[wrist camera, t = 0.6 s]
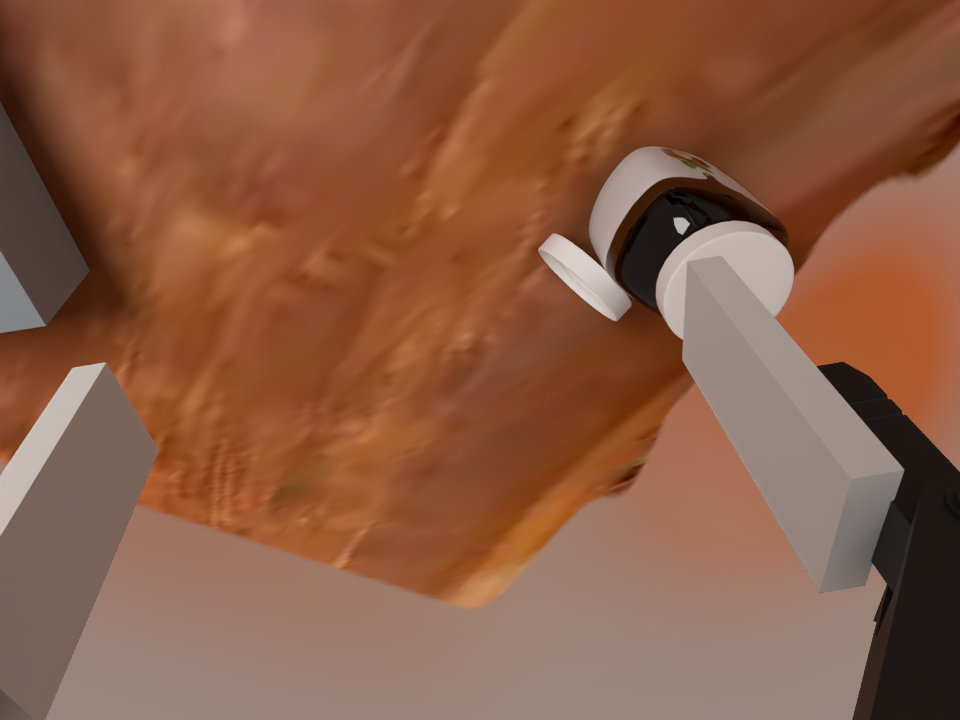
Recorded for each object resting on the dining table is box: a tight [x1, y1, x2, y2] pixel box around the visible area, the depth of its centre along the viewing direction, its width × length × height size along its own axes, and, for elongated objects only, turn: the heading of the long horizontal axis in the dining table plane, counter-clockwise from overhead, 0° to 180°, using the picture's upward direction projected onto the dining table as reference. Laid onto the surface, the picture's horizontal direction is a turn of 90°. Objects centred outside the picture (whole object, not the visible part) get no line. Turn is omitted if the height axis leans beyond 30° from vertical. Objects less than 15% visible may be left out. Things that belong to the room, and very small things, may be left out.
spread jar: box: [538, 146, 794, 340], centre depth 39 cm, size 12×11×12 cm
